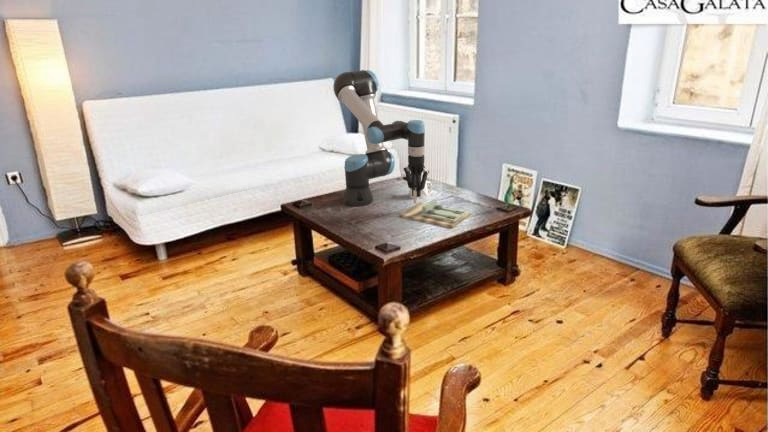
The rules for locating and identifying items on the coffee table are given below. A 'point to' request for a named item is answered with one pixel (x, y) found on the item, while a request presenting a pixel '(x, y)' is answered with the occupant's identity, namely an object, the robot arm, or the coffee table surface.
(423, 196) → the mug
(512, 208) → the coffee table surface
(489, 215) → the coffee table surface
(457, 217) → the panel
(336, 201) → the coffee table surface
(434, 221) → the board
